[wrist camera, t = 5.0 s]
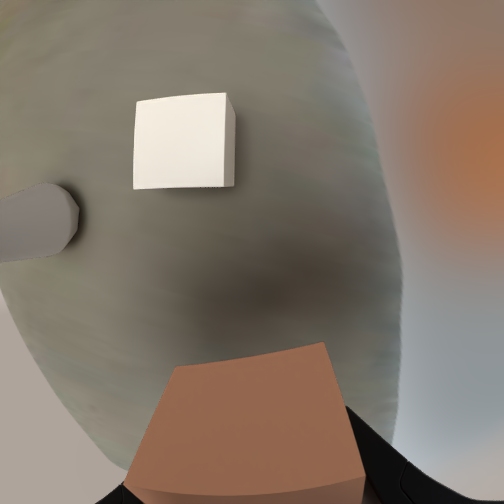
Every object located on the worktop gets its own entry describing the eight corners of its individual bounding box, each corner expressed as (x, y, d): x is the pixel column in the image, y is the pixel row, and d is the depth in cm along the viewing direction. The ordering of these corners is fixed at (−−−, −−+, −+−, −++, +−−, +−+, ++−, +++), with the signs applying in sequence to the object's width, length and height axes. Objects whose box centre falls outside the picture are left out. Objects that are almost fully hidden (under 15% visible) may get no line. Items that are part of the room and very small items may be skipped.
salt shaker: (97, 230, 20) (-34, 282, 7) (57, 259, 20) (-52, 315, 8) (72, 168, 18) (-60, 174, 6) (35, 202, 19) (-78, 228, 7)
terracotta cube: (334, 433, 9) (355, 532, 4) (219, 449, 10) (203, 543, 5) (323, 341, 8) (365, 475, 3) (175, 366, 9) (122, 484, 4)
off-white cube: (234, 186, 18) (223, 186, 14) (164, 187, 19) (133, 189, 14) (235, 115, 17) (226, 92, 12) (166, 119, 17) (136, 101, 13)
